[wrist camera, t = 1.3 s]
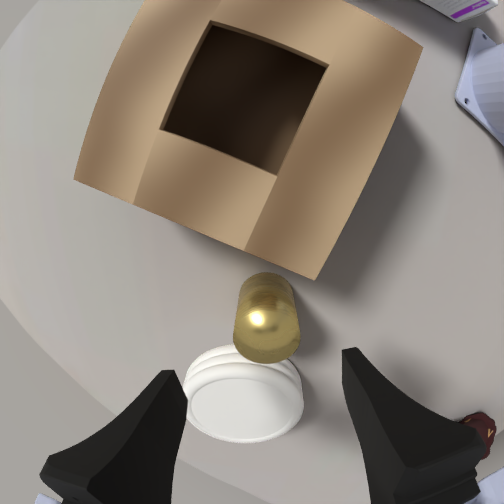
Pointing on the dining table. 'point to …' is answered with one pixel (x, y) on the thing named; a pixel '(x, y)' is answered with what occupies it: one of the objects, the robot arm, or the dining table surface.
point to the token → (266, 320)
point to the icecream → (482, 428)
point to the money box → (249, 119)
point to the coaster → (242, 396)
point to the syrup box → (461, 8)
